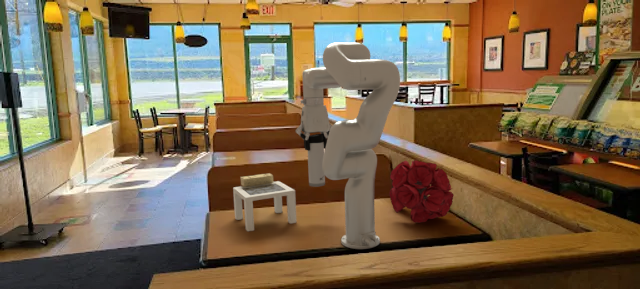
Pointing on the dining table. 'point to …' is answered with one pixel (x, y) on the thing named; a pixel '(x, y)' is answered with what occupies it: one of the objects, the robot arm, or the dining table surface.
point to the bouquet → (420, 190)
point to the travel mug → (316, 160)
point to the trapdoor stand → (249, 199)
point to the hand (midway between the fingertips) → (315, 148)
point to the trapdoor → (258, 181)
